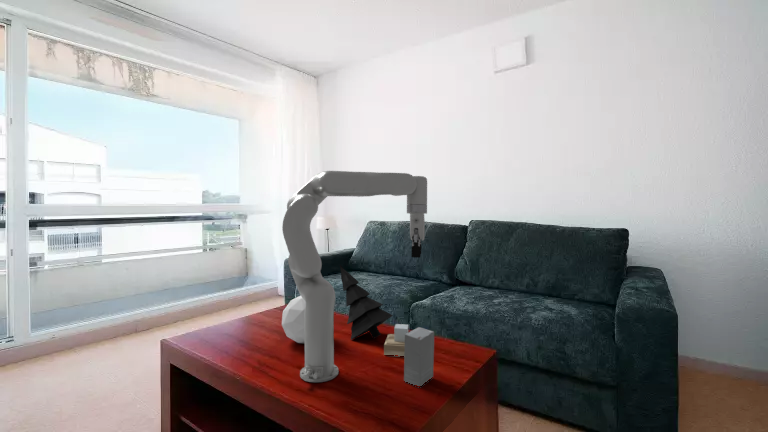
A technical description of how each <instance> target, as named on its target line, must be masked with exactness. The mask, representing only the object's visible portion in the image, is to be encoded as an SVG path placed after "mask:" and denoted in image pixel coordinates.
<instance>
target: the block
mask: <svg viewBox="0 0 768 432" xmlns="http://www.w3.org/2000/svg"><path fill="white" fill-rule="evenodd" d="M393 330H394V331H393V332H394V333H393V334H394V341H399V342H405V334H406V333H408V332H409V324H402V323H401V324H399V323H395V324H394V328H393Z"/></svg>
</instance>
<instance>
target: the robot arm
mask: <svg viewBox="0 0 768 432" xmlns="http://www.w3.org/2000/svg"><path fill="white" fill-rule="evenodd" d="M389 195H390V196H392V197H393V196H394V197H399V196H406V214H408V215H409V234H410V235H409V236H410V240H411V258H415V259H417V258H418V259H419V258H421V256H422V241H424V240H425V232H426V231H425V227H426V226H425V221H426V220H425V214H426V215H427V214H428V179H427V178H426V176H422V175H415V176H414V175H412V174H410V173H407V172H373V171H348V170H347V171H343V170H326V171H322V172H319V173H317V174H316V175H313V177H312V178H311V179H310V180H309V181H308V182H307V183H305V185H303V186H302V187H301V188H300V189H299V190H298V191H296V192H295V193H294V194H293V195H292V196H291V197H290V198H289V199H288V201H287V203H286V209H287V210H286V211H285V214H284V216H283V219H282V226H281V227H282V235H283V239H284V241H285V246H286V248H287V251H288V254H289V255H288V259H287V260H288V261H287V263H288V267H289V270H290V273H291V276H292V278H293V281H294V283H295V286H296V288H297V291H298V293H299V296H300V295H301V297H302V298H303V299H304V300H305V302H306V307H305V318H304V329H305V343H304V367H302V368H301V369H300V370H299V377H300V379H302V380H303V381H305V382H309V383H323V382H328V381H331V380H333V379H335V378H337V376H338V375H339V367H338V366H337V365H336V364H335V349H334V348H335V341H334V340H335V339H334V338H335V337H334V336H335V335H334V334H335V333H334V330H335V329H334V327H335V326H334V324H335V322H334V317H335V306H336V305H335V304H336V292H335V289H334V286H333V285H332V284H331V282H329V281H328V280H327V279H325V278H324V277H323V275H322V273H321V270H322V265H323V263H322V259H321V256H320V254H319V252H318V250H317V249H318V248H317V247H316V244H315V242H314V238H313V235H312V232H311V223H312V220H313V218H314V217H315V216H316V215H317V213H318V211H319V205H320V204H321V203H323V201H324V200H326V198H328V197H358V198H359V197H361V198H362V197H374V196H389Z"/></svg>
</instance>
